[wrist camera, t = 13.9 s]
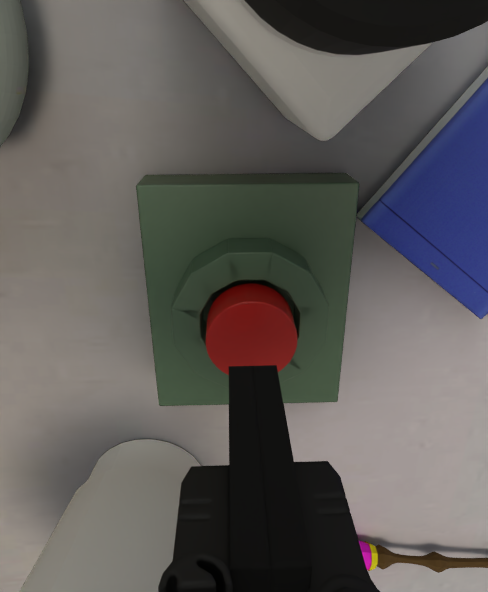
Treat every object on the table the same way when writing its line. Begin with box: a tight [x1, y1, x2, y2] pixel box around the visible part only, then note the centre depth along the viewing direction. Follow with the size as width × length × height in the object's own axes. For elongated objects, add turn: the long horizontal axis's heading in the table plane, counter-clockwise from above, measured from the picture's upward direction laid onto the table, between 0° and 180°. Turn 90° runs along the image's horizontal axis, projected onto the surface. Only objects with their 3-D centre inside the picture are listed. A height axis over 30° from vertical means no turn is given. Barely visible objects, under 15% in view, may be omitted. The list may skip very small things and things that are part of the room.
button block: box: [136, 173, 359, 406], centre depth 21 cm, size 11×9×4 cm
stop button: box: [206, 283, 298, 375], centre depth 19 cm, size 4×4×2 cm
